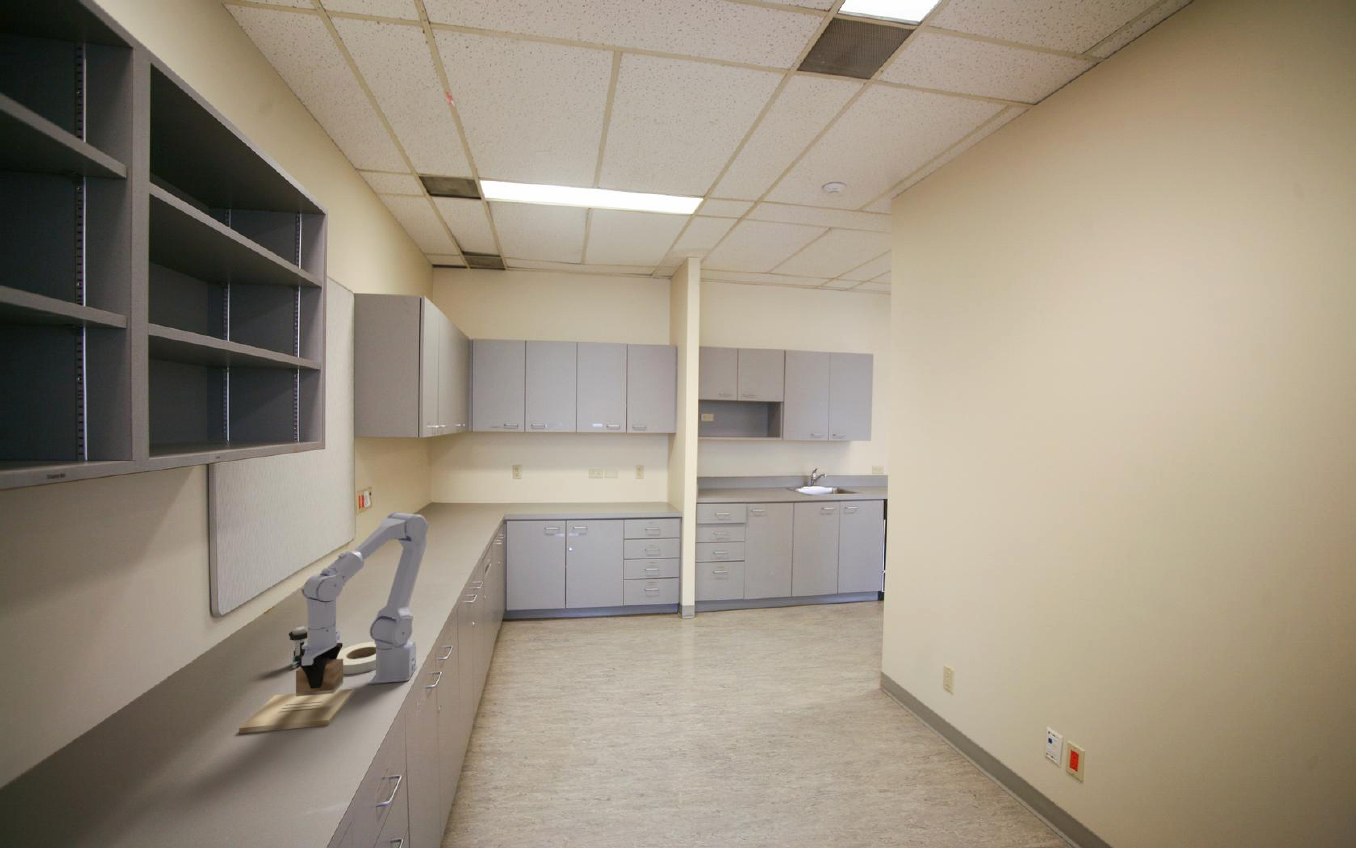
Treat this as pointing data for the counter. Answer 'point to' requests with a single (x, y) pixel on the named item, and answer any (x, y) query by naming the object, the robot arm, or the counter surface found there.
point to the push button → (298, 643)
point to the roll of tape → (358, 664)
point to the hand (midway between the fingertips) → (321, 681)
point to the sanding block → (330, 679)
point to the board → (297, 711)
